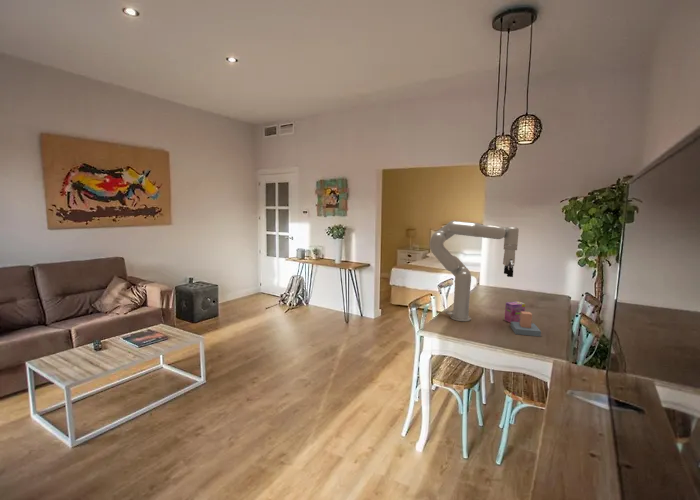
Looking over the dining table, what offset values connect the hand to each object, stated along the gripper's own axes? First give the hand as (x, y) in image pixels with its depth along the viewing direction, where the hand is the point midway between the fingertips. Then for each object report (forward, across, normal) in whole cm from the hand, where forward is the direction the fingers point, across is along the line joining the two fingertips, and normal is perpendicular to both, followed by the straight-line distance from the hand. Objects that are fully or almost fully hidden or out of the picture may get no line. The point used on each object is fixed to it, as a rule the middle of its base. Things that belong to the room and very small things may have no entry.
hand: (508, 275), depth 220 cm
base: (+30, +12, +9) cm, 34 cm away
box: (+31, -7, +7) cm, 32 cm away
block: (+27, +12, +9) cm, 31 cm away
